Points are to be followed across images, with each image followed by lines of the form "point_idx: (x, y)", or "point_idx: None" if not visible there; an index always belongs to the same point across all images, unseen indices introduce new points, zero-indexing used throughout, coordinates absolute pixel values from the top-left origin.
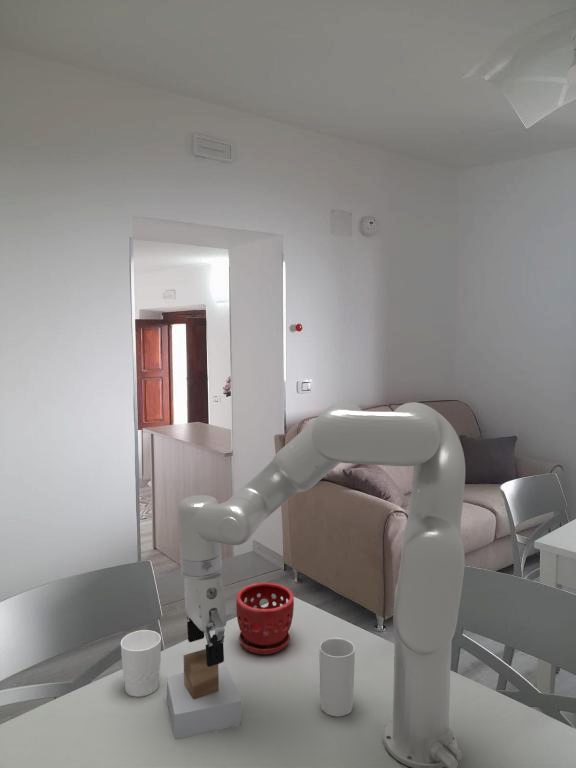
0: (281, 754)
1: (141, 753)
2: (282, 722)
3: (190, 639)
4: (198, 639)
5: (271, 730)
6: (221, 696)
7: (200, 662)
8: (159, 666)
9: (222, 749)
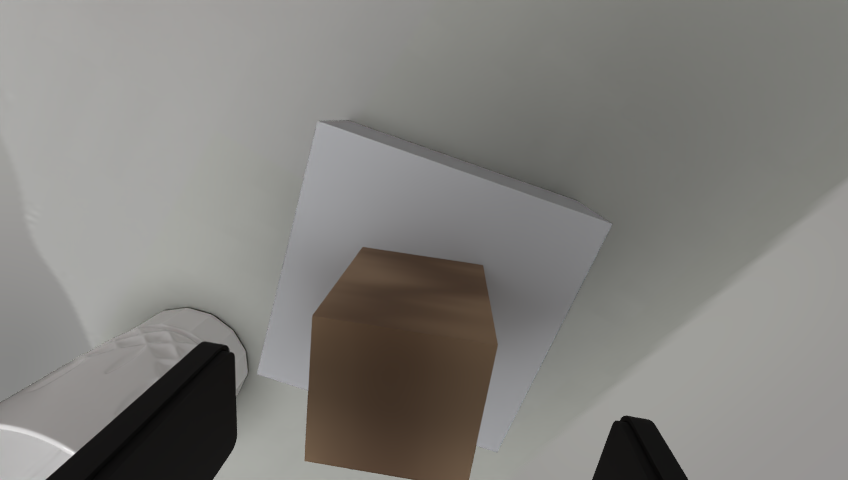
0: (809, 172)
1: (479, 471)
2: (687, 59)
3: (226, 458)
4: (233, 389)
5: (687, 126)
6: (522, 273)
7: (439, 431)
8: (174, 361)
9: (629, 310)
